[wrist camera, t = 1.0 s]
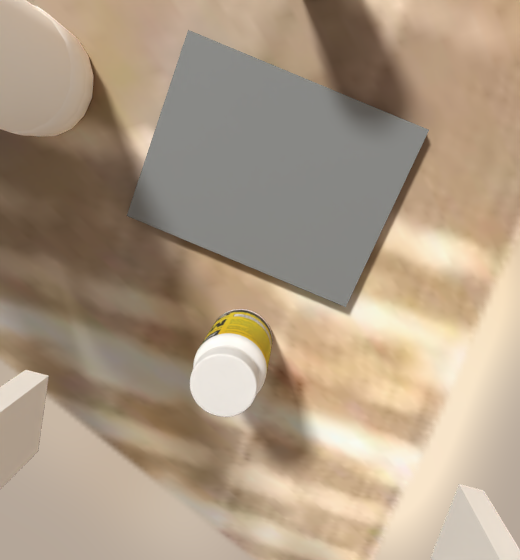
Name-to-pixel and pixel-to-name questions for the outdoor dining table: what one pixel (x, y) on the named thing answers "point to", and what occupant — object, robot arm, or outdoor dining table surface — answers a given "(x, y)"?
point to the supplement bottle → (231, 363)
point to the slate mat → (273, 169)
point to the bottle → (40, 72)
